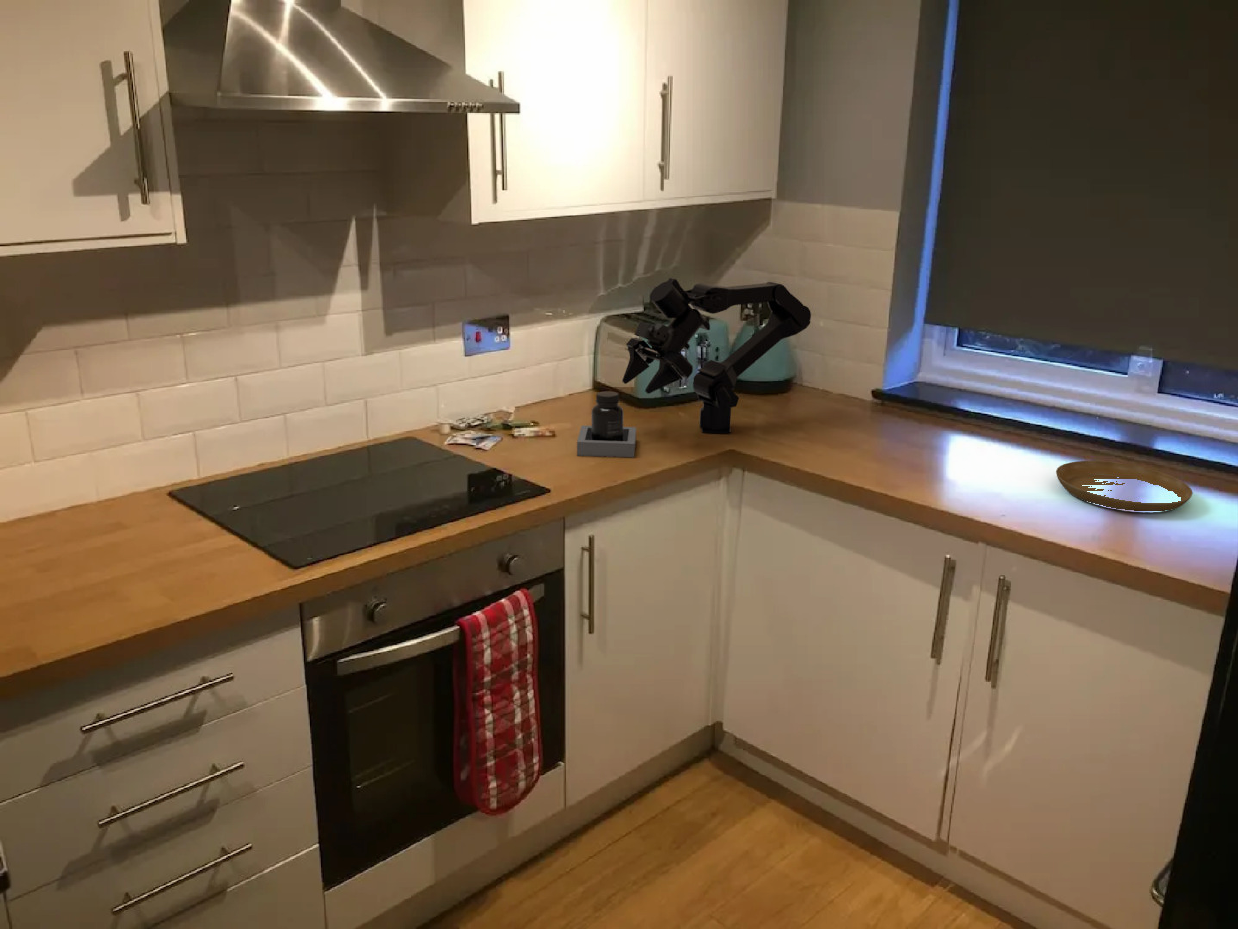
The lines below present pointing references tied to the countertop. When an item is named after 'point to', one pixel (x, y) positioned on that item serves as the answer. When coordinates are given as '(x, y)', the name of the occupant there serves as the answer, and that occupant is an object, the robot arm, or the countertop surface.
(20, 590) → the countertop surface
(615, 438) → the supplement bottle
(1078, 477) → the plant saucer
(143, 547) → the countertop surface
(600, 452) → the holder
